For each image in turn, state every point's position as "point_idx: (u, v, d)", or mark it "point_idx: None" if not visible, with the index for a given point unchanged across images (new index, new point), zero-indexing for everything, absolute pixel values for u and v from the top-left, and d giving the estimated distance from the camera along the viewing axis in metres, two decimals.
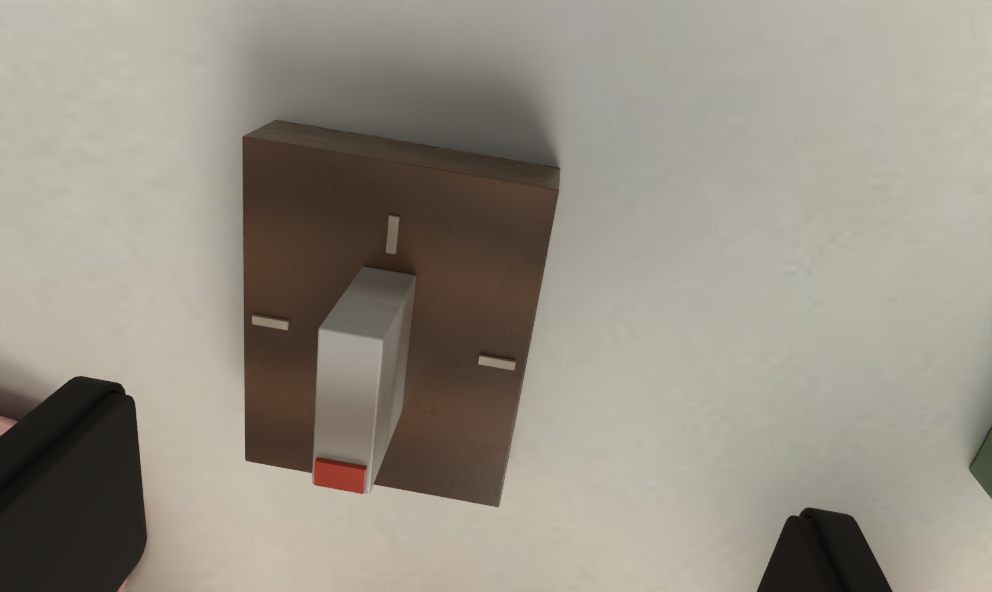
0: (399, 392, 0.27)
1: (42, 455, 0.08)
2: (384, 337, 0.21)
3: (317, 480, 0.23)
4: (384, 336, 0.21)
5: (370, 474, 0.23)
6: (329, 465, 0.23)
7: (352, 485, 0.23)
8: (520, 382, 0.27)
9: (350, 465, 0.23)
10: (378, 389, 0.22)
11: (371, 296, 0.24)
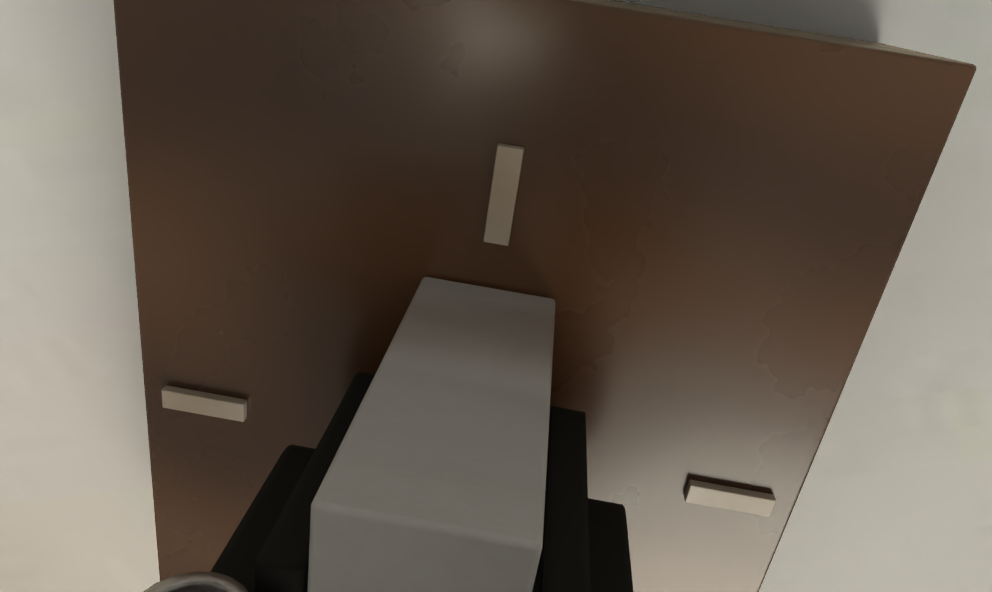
0: None
1: None
2: (542, 533, 0.06)
3: None
4: (542, 526, 0.06)
5: None
6: None
7: None
8: (776, 540, 0.12)
9: None
10: None
11: (462, 365, 0.08)
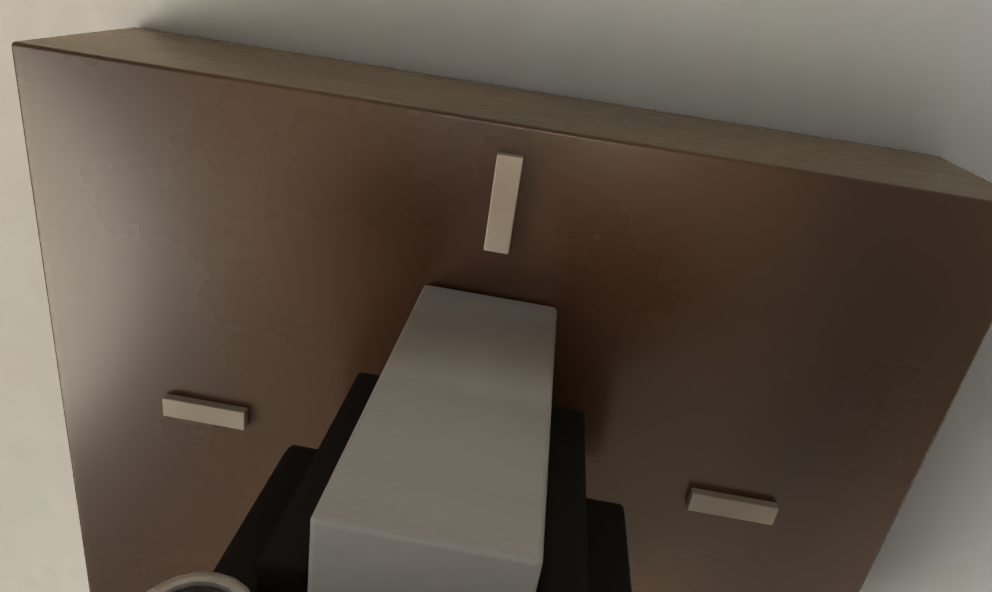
0: None
1: None
2: (543, 549, 0.06)
3: None
4: (543, 539, 0.06)
5: None
6: None
7: None
8: None
9: None
10: None
11: (462, 376, 0.08)
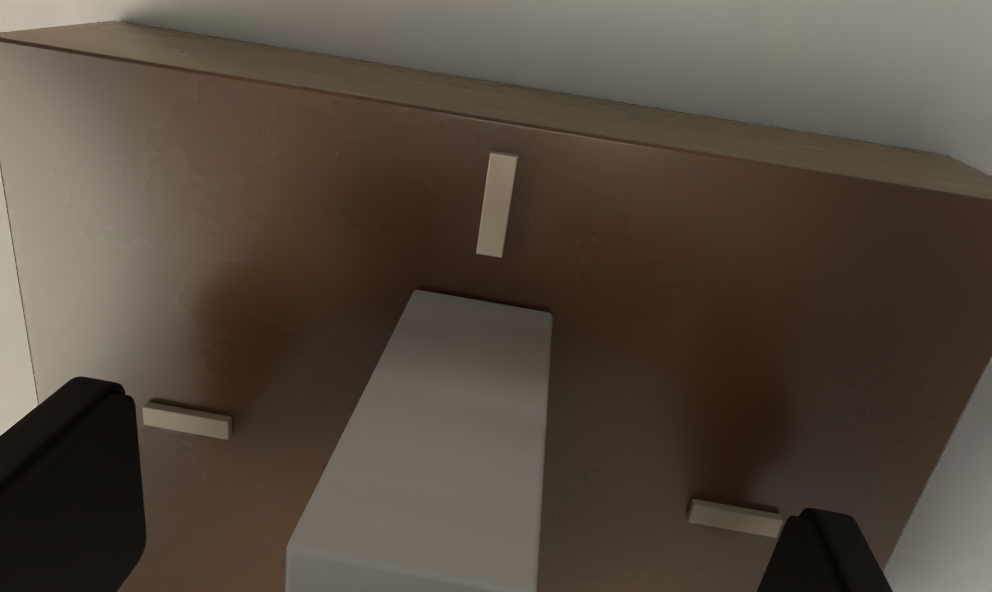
0: None
1: (42, 455, 0.08)
2: (535, 578, 0.06)
3: None
4: (537, 568, 0.06)
5: None
6: None
7: None
8: None
9: None
10: None
11: (453, 387, 0.08)
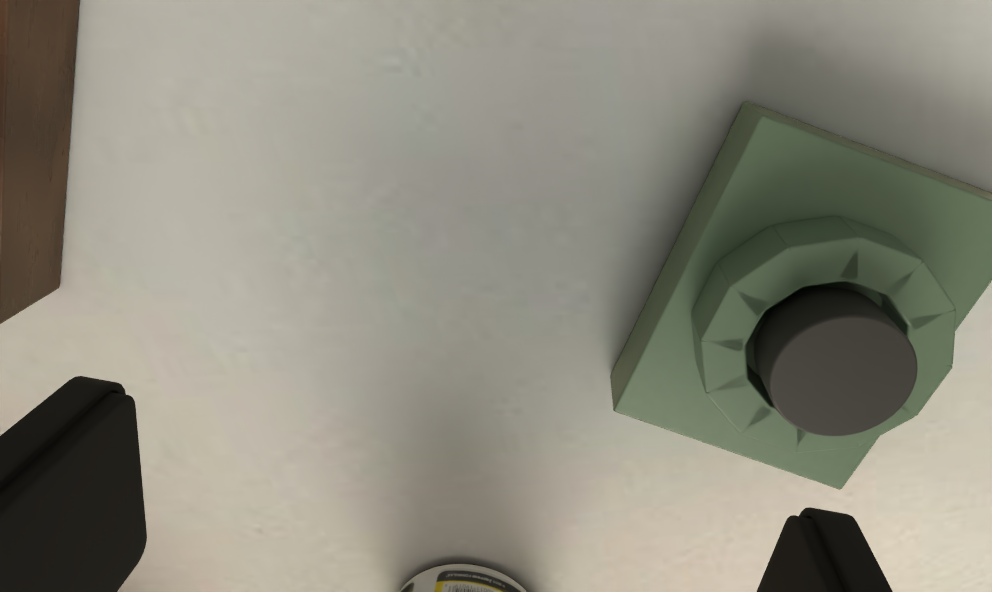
0: None
1: (42, 455, 0.08)
2: None
3: None
4: None
5: None
6: None
7: None
8: (0, 141, 0.20)
9: None
10: None
11: None
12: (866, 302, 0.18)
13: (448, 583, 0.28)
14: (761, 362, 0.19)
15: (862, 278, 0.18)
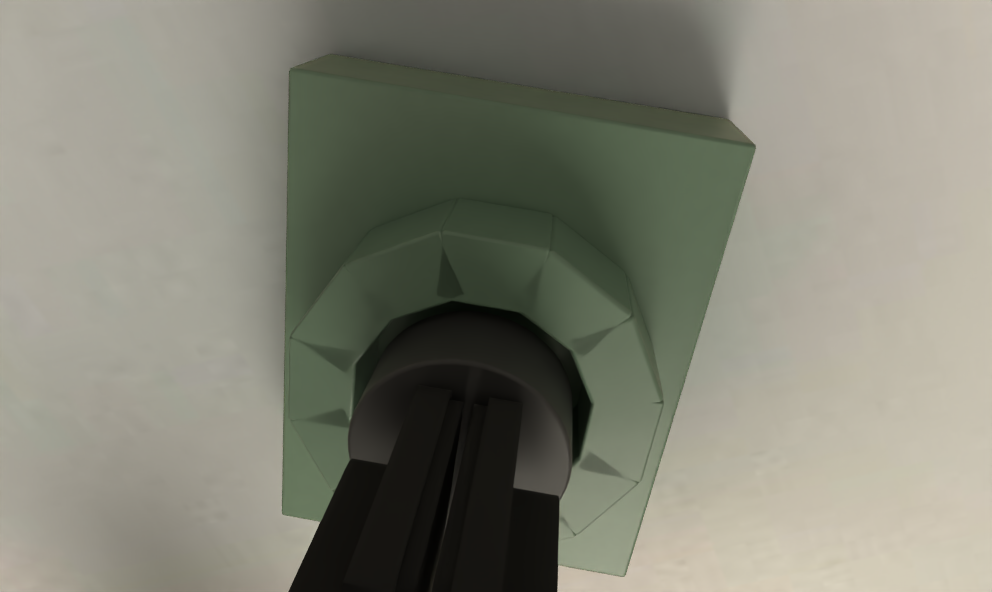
0: None
1: (436, 456, 0.09)
2: None
3: None
4: None
5: None
6: None
7: None
8: None
9: None
10: None
11: None
12: (481, 330, 0.11)
13: None
14: None
15: (471, 293, 0.11)
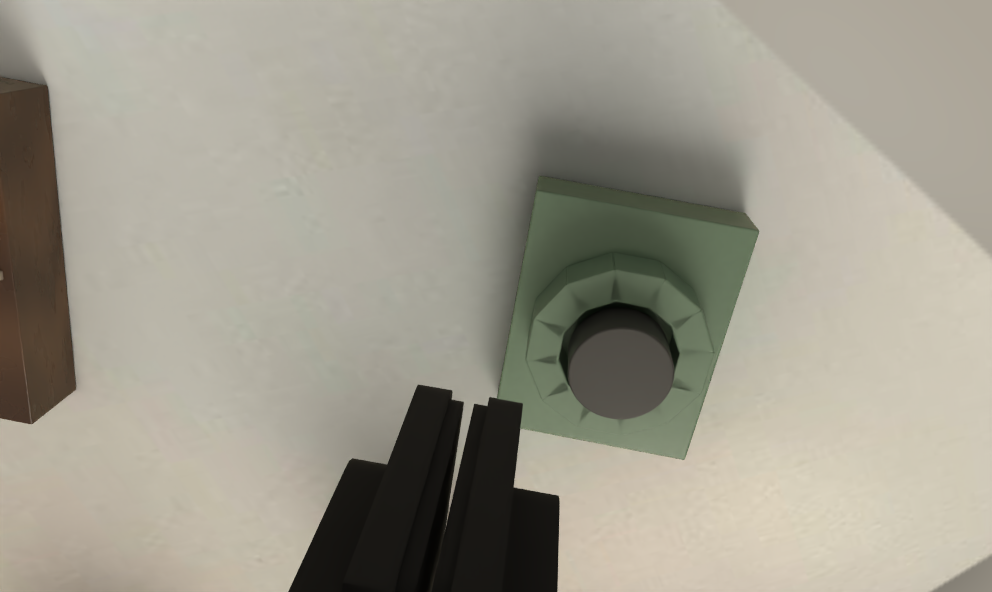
0: None
1: (436, 456, 0.09)
2: None
3: None
4: None
5: None
6: None
7: None
8: (13, 293, 0.28)
9: None
10: None
11: None
12: (631, 315, 0.24)
13: None
14: None
15: (626, 298, 0.24)
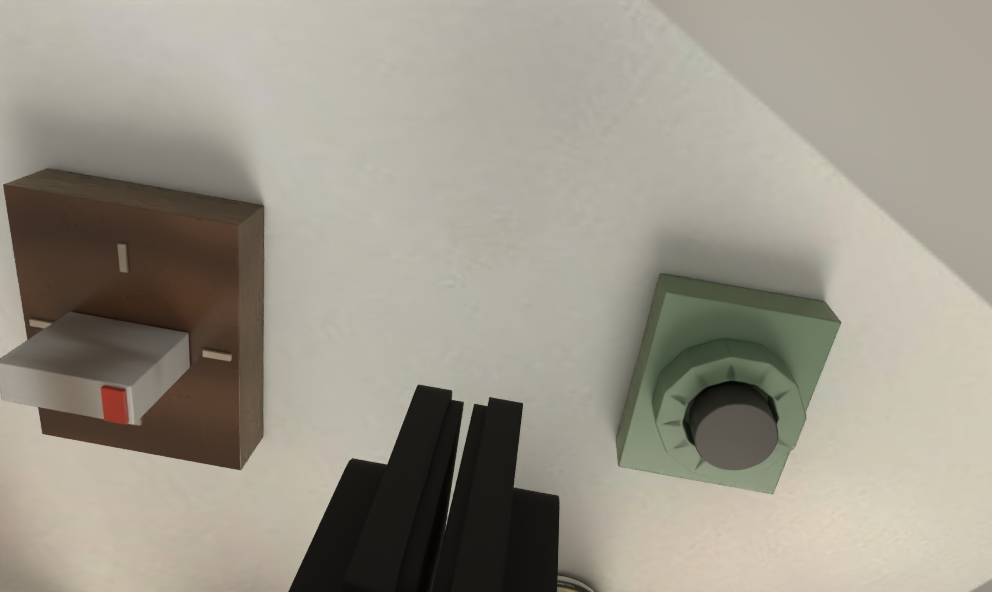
0: (142, 337, 0.33)
1: (436, 456, 0.09)
2: None
3: (121, 421, 0.30)
4: None
5: (112, 383, 0.30)
6: (106, 411, 0.30)
7: (117, 398, 0.30)
8: (238, 370, 0.35)
9: (103, 396, 0.30)
10: (36, 369, 0.30)
11: None
12: (743, 391, 0.31)
13: None
14: None
15: (739, 377, 0.31)
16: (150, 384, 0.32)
